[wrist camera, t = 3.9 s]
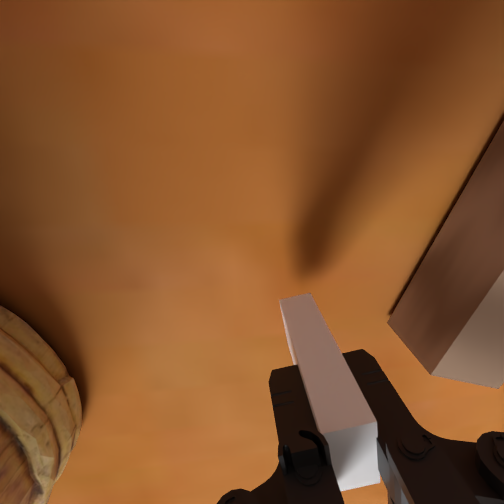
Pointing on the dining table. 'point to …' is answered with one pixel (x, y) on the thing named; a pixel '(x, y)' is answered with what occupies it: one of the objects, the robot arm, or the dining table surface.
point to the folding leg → (462, 285)
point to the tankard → (33, 414)
